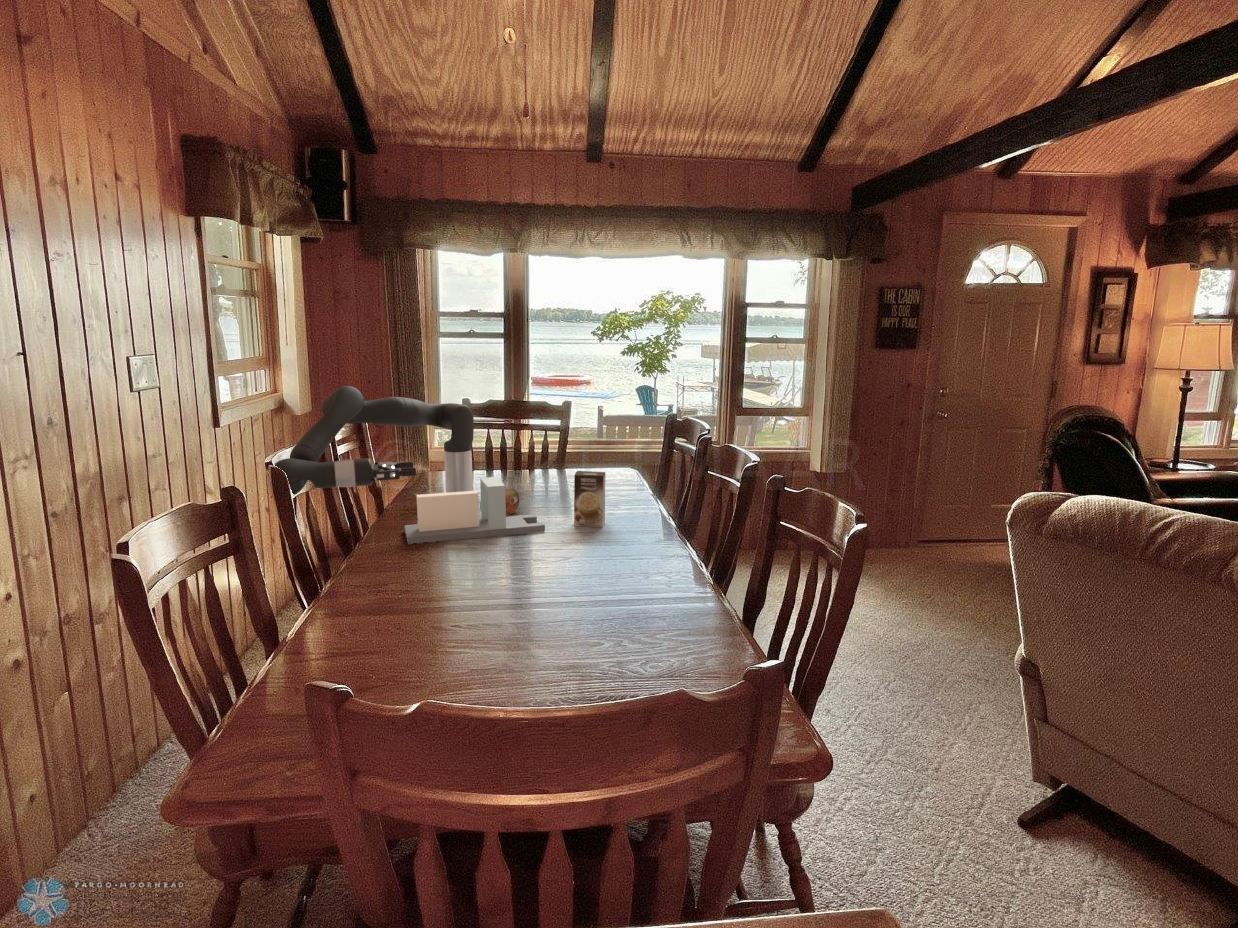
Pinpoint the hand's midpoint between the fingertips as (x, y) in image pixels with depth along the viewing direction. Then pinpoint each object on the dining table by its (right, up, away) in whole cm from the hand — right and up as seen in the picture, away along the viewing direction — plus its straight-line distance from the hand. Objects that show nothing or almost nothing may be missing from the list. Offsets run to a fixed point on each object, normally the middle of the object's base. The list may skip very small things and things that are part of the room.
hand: (414, 468), depth 204 cm
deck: (+15, -19, +9) cm, 26 cm away
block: (+8, -17, +6) cm, 20 cm away
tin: (+20, -16, +28) cm, 37 cm away
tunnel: (+20, -16, +11) cm, 28 cm away
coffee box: (+49, -17, +18) cm, 55 cm away
